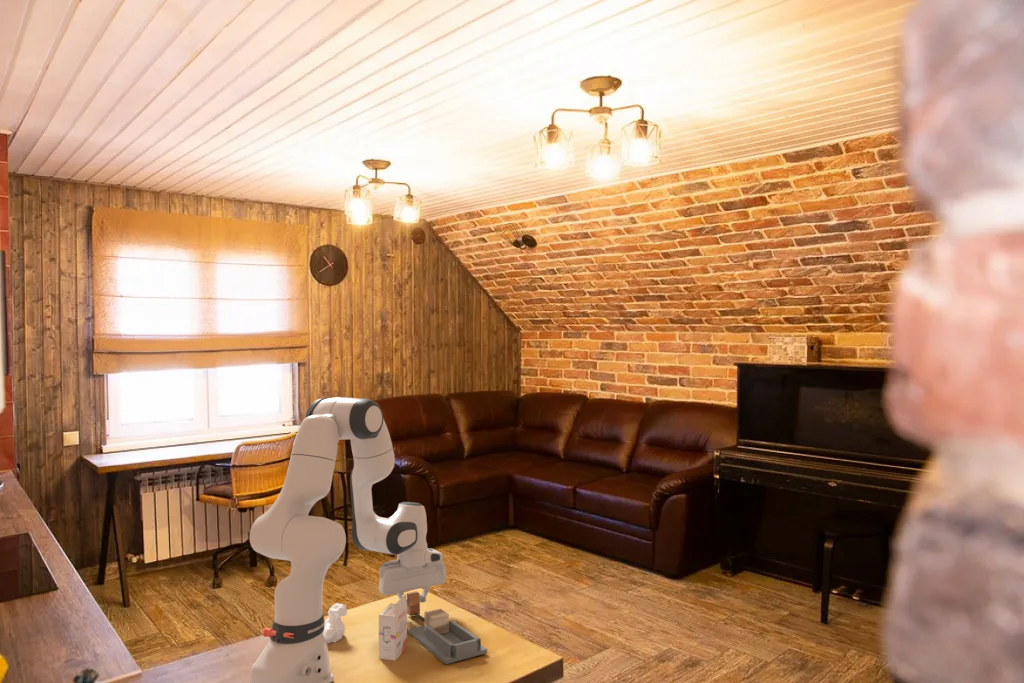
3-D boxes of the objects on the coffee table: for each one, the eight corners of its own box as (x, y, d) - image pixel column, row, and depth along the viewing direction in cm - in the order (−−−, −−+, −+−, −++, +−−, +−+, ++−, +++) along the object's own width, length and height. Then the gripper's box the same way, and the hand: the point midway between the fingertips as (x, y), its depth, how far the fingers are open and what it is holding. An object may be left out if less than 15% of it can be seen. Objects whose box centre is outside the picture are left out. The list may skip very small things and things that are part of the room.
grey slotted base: (487, 652, 193) (486, 637, 193) (445, 664, 187) (445, 648, 187) (445, 623, 214) (445, 609, 214) (407, 633, 207) (406, 618, 207)
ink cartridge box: (389, 646, 198) (390, 591, 198) (407, 648, 197) (408, 593, 197) (377, 659, 190) (378, 602, 190) (395, 662, 189) (396, 604, 189)
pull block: (448, 632, 204) (448, 610, 204) (432, 636, 201) (432, 613, 201) (419, 611, 220) (419, 590, 220) (404, 614, 218) (403, 593, 218)
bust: (328, 658, 197) (355, 625, 197) (306, 641, 196) (333, 608, 197) (336, 639, 209) (361, 608, 209) (314, 623, 208) (340, 591, 209)
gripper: (383, 565, 210) (384, 614, 210) (447, 553, 221) (448, 600, 221) (374, 560, 215) (375, 607, 215) (438, 548, 226) (439, 594, 226)
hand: (413, 603), depth 218 cm, fingers open, 5 cm apart
